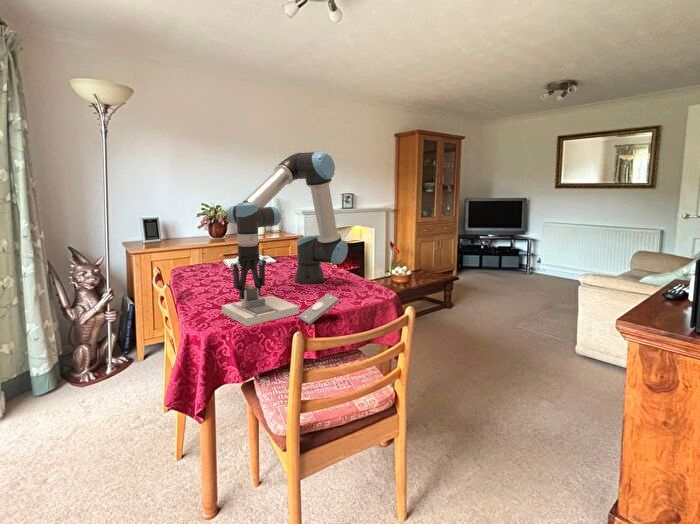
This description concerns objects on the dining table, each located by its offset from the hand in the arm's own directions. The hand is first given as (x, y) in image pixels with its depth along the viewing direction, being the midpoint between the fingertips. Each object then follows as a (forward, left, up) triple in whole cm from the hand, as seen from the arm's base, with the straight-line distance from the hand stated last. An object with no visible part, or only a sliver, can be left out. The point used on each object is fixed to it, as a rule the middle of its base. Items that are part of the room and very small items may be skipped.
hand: (250, 305), depth 154 cm
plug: (0, 0, -3) cm, 3 cm away
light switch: (+21, +17, -4) cm, 27 cm away
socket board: (+2, +3, -3) cm, 5 cm away
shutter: (+7, 0, 0) cm, 7 cm away
